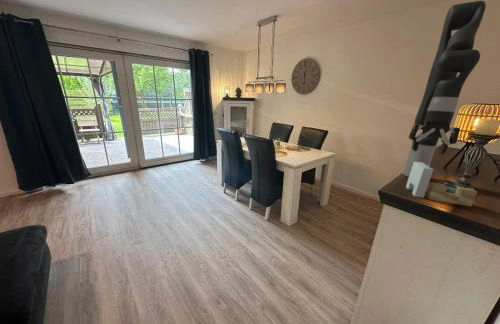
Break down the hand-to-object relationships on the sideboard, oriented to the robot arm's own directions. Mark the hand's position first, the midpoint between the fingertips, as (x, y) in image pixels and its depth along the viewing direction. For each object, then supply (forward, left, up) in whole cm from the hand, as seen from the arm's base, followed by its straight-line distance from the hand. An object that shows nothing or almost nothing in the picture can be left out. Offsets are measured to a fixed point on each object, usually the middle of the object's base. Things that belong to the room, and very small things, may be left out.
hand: (427, 152), depth 80 cm
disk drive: (-11, +18, -18) cm, 28 cm away
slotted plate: (0, 0, -17) cm, 17 cm away
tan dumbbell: (+4, +10, -17) cm, 20 cm away
